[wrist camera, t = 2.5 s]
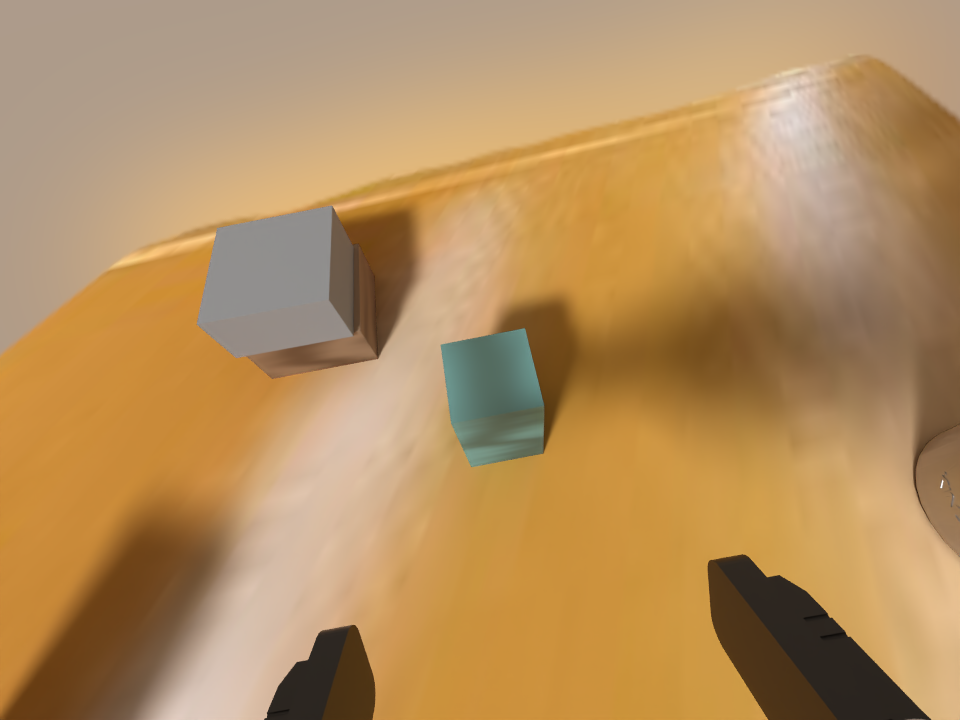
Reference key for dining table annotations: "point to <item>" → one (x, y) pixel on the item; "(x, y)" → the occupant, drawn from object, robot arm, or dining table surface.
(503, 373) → the teal block
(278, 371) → the walnut block
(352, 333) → the grey block
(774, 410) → the dining table surface
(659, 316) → the dining table surface
